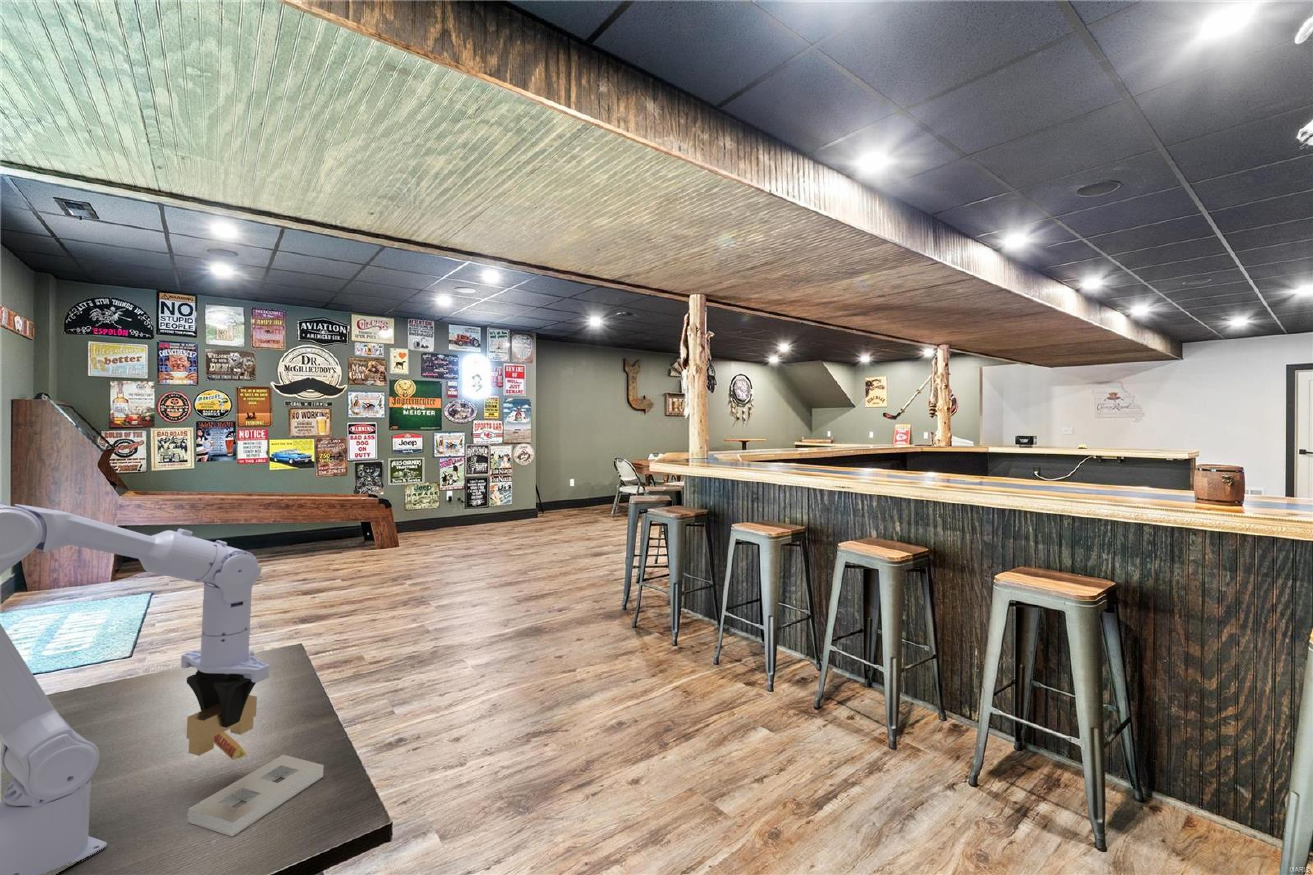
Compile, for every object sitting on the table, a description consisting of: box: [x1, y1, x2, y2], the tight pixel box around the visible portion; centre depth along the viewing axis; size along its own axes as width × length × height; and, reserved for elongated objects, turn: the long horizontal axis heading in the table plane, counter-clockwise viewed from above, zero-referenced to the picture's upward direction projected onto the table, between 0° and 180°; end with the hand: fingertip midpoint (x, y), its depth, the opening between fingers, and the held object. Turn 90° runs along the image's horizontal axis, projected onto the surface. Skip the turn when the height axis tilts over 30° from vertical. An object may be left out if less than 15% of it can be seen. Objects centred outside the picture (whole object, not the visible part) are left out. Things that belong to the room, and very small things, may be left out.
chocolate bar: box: [214, 731, 248, 760], centre depth 96 cm, size 3×12×2 cm, turn 55°
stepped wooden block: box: [186, 694, 258, 756], centre depth 85 cm, size 8×3×5 cm, turn 164°
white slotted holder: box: [187, 754, 324, 837], centre depth 82 cm, size 14×8×2 cm, turn 164°
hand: (222, 722), depth 85 cm, fingers closed on stepped wooden block, 3 cm apart
